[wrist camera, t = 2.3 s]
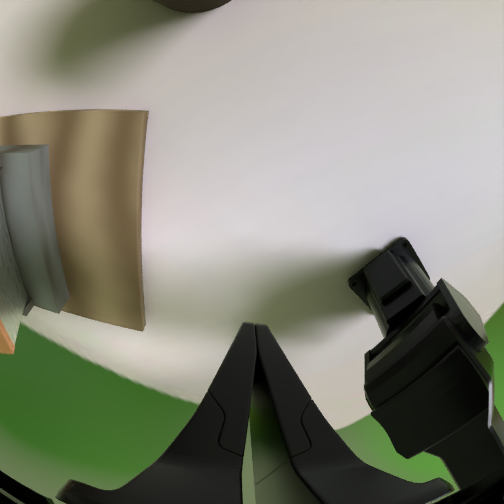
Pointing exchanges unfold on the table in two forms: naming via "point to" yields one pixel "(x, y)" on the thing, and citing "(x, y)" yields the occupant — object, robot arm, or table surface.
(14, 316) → the board
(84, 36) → the table surface
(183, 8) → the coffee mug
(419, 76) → the table surface
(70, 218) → the switch board
